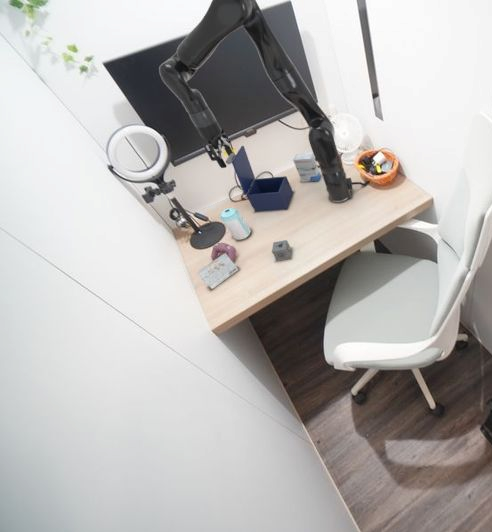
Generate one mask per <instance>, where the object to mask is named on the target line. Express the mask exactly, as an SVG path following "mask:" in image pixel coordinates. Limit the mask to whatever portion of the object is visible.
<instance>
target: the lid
mask: <svg viewBox="0 0 492 532" xmlns="http://www.w3.org/2000/svg"><path fill="white" fill-rule="evenodd" d="M233 153H234V152H233ZM233 153H231V154H230V155H229V156H227V158H226V160H225V164H226V165H232V166H233V167H232V168H233V169H234V172H235V175H236V177H237V179H238V182H239V184H240V187H241V189H242V192H243V194H244V196H246V195H247V193H248V191H249V189H250V187H251V185H252V183H253V181H254V179H256V177H255V174H254V171H253V169H252V165H251V163H250V160H249V157H248V154H247V151H246V148H245V146H244V145H241V146H240V148H239V149H238V151H237V153H236V154H235V153H234V154H233Z"/></svg>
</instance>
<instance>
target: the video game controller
mask: <svg viewBox="0 0 492 532" xmlns="http://www.w3.org/2000/svg"><path fill="white" fill-rule="evenodd" d="M224 253H226V254H227V256H228V257H229V258H230V260H231V261H232V262H233V263H234V262H235V260H236V254H237V249H236V247H235V246H234V245H231V244H228V243H226V242H217V243H215V244H214V245H213V246H212V251H211V254H210V258H211V260H212V261H214V260H215V259H217V258H218V257H219V256H221V255H223V254H224Z"/></svg>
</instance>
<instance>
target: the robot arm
mask: <svg viewBox="0 0 492 532" xmlns="http://www.w3.org/2000/svg"><path fill="white" fill-rule="evenodd" d="M266 19H267V18H266V17H265V16H264V13H263V12H262V10H261V7H260V5H259V4H258V2H257V0H211V2H210V5H209V6H208V9H207V11H206V12H205V13H204V16H203V17H202V18H201V20H200V21H199V22H198V24H197V25H196V26H195V27H194V28H193V29H192V30H191V31H190V32H189V33H188V34H187V35H186V36H185V38H184V39H183V40H182V41H181V42H180V43H179V45H178V46H177V48H176V52H175V53H174V54H173V55H172V56H170V58H168V59H167V60H165V61H164V62H163V63H161V64H160V65H159V67H158V71H159V72H158V73H159V76H160V78H161V80H162V82H163V83H164V85H166V87H167V88H168V89H169V90H170V91H171V92H172V93H173V94H174V95H175V97H177V99H178V100H179V101H180V102H181V104H182V106H183V107H184V109H185V110H186V112H187V114H188V116H189V118H190V120H191V122H192V123H193V125H194V127H195V128H196V131H198V134H199V135H200V137H201V138H202V139H204V140H206V142H207V144H206V145H203V148H204V150H205V152H206V153H207V155H208V157H209V159H210V160H211V162H215V161H216V162H217V164H218V166H219V167H220V168H221V169H226V168H227V163H226V161H224V158H222V152H223V151H222V149H224V151H225V153H226V154H227V157H229V155H230V154H231V153H233V154H235V153H234V152H233V149H232V148H231V143H232V140H231V141H229V142H227V141H226V140H227V139H228V137H229V135H228V133H227V132H226V130H225V128H221V126H220V124H219V122H218V120H217V118H216V117H215V115H214V113H213V112H212V110H211V109H210V107H209V105H208V104H207V102H206V100H205V98H204V96H203V95H202V93H201V92H200V90H198V89H196V88H191V87H190V86H189V84H188V83H187V82H189V81H190V80H191V79H192V78H193V77H194V76H195V74H196V73H197V72H198V69H200V68H201V67H202V66H203V65H204V64H205V63H206V62H207V61H208V60H209V58H210V57H211V56H212V55H213V54H214V52H215V51H216V49H217V48H218V46H219V45H220V44H221V43H222V41H223V40H225V39H226V38H227V37H228V36H230V34H232V33H234V32H236V31H237V30H239V29H240V28H243V29H244V31H245V32H246V34H247V35H248V36H249V38H250V39H251V41H252V43H253V44H254V47H255V49H256V51H257V53H258V56H259V59H260V62H261V65H262V67H263V70H264V72H265V74H266V76H267V77H268V79H269V81H270V82H271V84H272V85H273V87H274V88H275V89H276V91H277V92H278V93H279V94H280V96H281V97H282V98H283V99H284V100H285V101H286V102H287V103H289V104H290V105H291V106H292V107H294V108H295V109H296V110H297V111H298V112H299V113H300V115H301V116H302V118H303V119H304V121H305V122H306V124H307V126H308V128H309V131H308V143H309V146H310V148H311V151H312V154H313V155H314V158H315V161H316V162H317V163H318V164H317V165H318V167H319V170H320V173H321V176H322V178H323V181H324V184H325V187H326V188H325V189H326V192H327V194H328V196H329V197H328V198H329V200H330V201H331V202H332V203H338V204H339V203H343V202H346V201H348V200H350V199H352V197H351V195H352V194H351V190H353V189H354V188H353V185H361V186H363V187H365V186H367V185H368V184H369V182H370V181H367V180H366V181H365V182H364V183H363V182H361V181H353V180H352V178H351V177H348V176H347V173H346V172H345V168H344V165H343V161H342V157H341V154H340V152H339V151H338V148H337V144H336V141H335V136H336V135H335V134H336V131H335V126H334V124H333V122H332V121H331V120H330V118H329V117H328V116H327V114H326V113H325V112H324V111H323V109H322V108H321V106H319V104H318V103H317V101H316V100H315V98H314V96H313V94H312V92H311V91H310V89H309V87H308V86H307V84H306V83H305V81H304V79H303V77H302V76H301V74H300V72H299V71H298V69H297V67H296V66H295V64H294V63H293V61H292V60H291V59H290V57H289V55H288V53H287V52H286V51H285V49H284V47H283V46H282V45H281V43H280V41H279V40H278V38H277V37H276V35H275V33H274V32H273V30H272V29H271V26H270V24H269V23H268V21H267V20H266ZM224 138H225V139H224Z"/></svg>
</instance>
